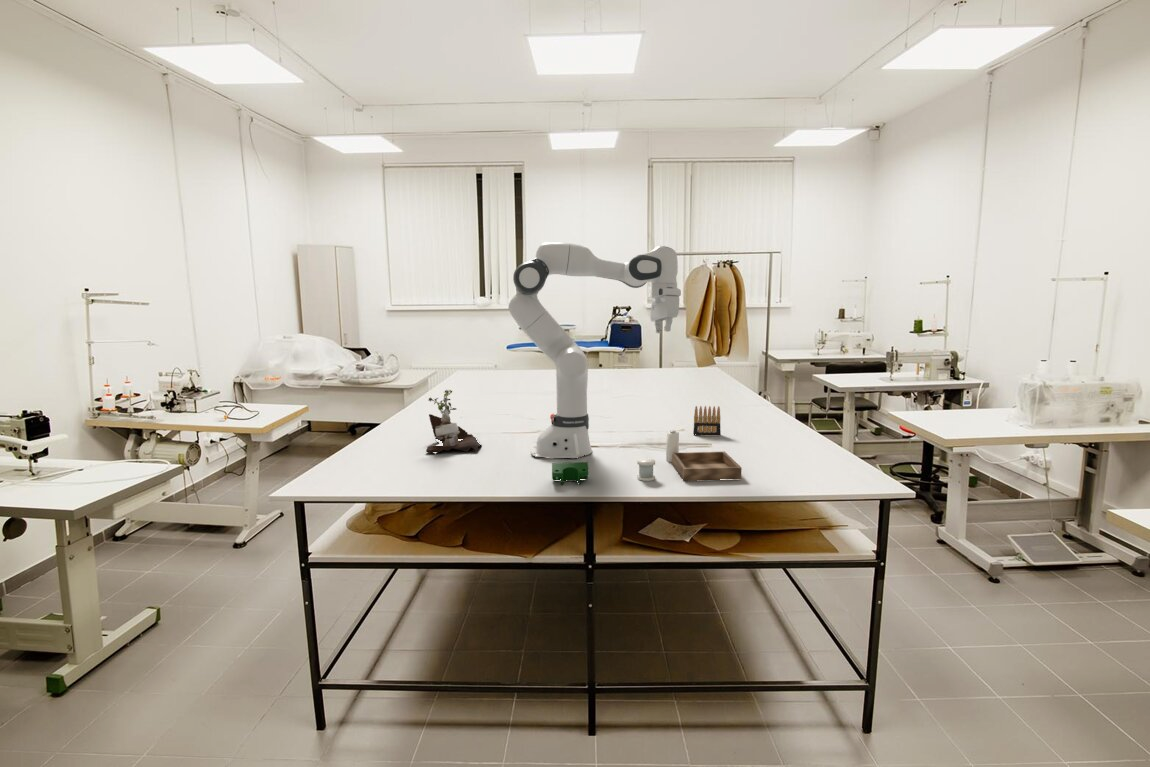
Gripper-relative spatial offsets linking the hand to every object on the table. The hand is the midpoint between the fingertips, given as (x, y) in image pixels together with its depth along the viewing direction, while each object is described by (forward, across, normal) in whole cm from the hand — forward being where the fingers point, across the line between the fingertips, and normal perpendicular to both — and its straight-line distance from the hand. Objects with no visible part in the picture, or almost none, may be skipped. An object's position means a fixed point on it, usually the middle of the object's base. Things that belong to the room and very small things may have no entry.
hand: (663, 332), depth 209 cm
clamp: (+50, +21, -35) cm, 65 cm away
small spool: (+48, +22, -12) cm, 54 cm away
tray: (+46, +20, +9) cm, 51 cm away
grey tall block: (+45, +6, +3) cm, 45 cm away
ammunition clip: (+39, -24, +28) cm, 54 cm away
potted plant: (+45, -30, -72) cm, 90 cm away
